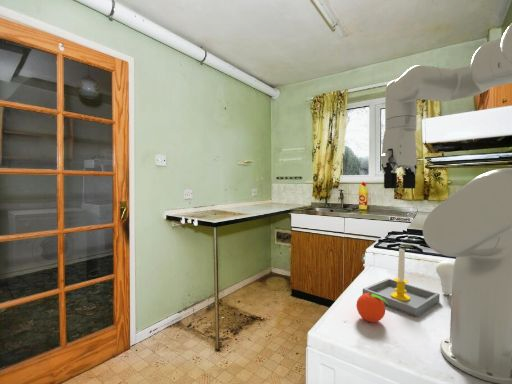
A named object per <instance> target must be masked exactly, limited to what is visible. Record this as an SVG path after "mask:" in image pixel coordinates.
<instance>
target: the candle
mask: <svg viewBox="0 0 512 384" xmlns="http://www.w3.org/2000/svg"><path fill="white" fill-rule="evenodd" d="M405 253H406V251H405V249H403V248H399V250H398V266H397V267H398V268H397V277H396V278H395V277H394V278H393V280H394V281H396V282H397V288H395V291H396V292H394V293H391V297H392V298H394V299H396V300H399V301H409V300H410V297H409V296H408V295H406V294H404V293H406V292H407V291H406V290H405V289H404V288H405V284H408V283H409V280H407V279H405V258H406V256H405Z"/></svg>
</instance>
